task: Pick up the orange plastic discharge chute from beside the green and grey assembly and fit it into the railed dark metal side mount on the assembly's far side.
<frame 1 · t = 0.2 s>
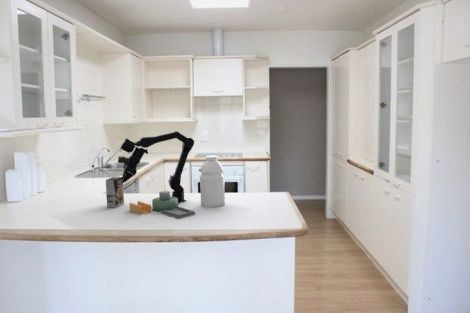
hand: (122, 180, 220), 15 cm above the worktop, tool tilted 30°, fingers open, 9 cm apart
chute: (140, 211, 210), on the worktop
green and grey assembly: (171, 211, 208), on the worktop
coffee box: (115, 205, 224), on the worktop
bottle: (212, 204, 222), on the worktop
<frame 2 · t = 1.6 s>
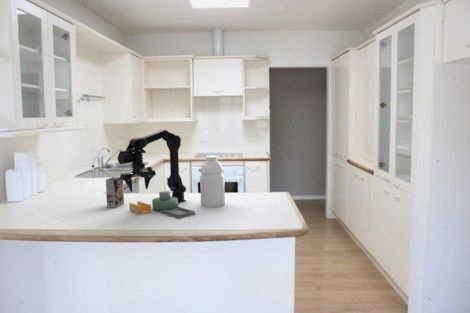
hand: (139, 190, 209), 12 cm above the worktop, tool pointing down, fingers open, 9 cm apart
nothing on the worktop moved.
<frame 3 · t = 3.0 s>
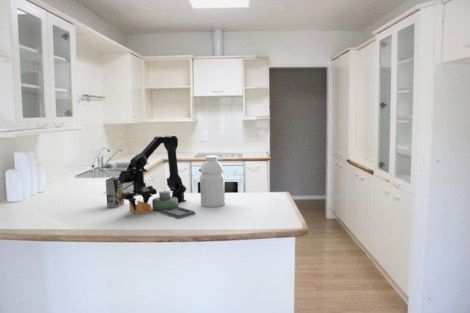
hand: (140, 209, 210), 1 cm above the worktop, tool pointing down, fingers closed on chute, 6 cm apart
chute: (140, 211, 210), on the worktop, touching gripper
everything else where it was.
when the fingers open (4 cm above the worktop, at t = 8.1 s): chute drops 2 cm, resting on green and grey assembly.
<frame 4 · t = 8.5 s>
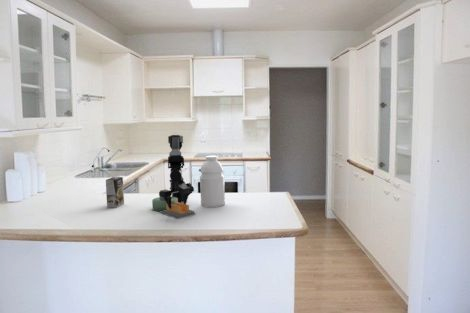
hand: (177, 207, 204), 4 cm above the worktop, tool pointing down, fingers open, 9 cm apart
chute: (177, 212, 204), point 1 cm above the worktop, touching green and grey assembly
everything else where it was.
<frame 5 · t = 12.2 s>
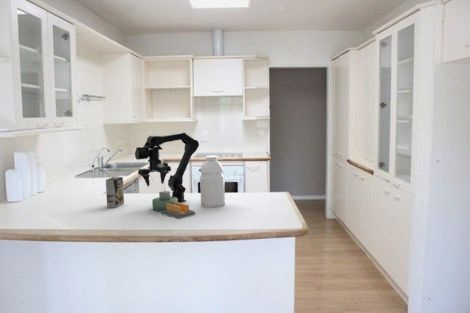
hand: (155, 184, 221), 12 cm above the worktop, tool pointing down, fingers open, 9 cm apart
nothing on the worktop moved.
at the end: chute 0.0 cm from the target spot on the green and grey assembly, point 0.6 cm above the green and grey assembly's base; chute tilted 0°; the gripper is holding nothing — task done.
